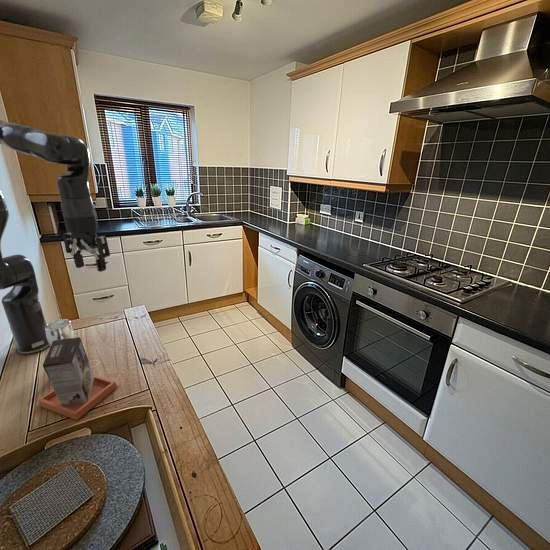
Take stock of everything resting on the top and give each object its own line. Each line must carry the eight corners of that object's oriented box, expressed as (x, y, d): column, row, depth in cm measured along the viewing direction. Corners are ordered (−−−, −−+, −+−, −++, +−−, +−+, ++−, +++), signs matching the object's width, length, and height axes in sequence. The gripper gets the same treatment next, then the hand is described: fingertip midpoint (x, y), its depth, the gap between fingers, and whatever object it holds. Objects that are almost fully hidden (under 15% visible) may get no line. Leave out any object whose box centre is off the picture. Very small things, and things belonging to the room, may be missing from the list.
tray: (39, 406, 78) (37, 400, 77) (82, 376, 89) (80, 370, 89) (77, 420, 74) (75, 414, 73) (116, 387, 85) (115, 381, 85)
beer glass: (68, 372, 91) (57, 331, 85) (50, 369, 92) (37, 328, 87) (86, 359, 97) (76, 320, 92) (68, 356, 98) (58, 317, 93)
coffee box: (70, 381, 84) (52, 339, 76) (95, 376, 86) (81, 335, 78) (61, 408, 77) (40, 365, 69) (88, 403, 79) (72, 360, 71)
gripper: (47, 214, 80) (61, 269, 85) (86, 218, 75) (98, 276, 81) (73, 210, 86) (84, 262, 92) (110, 214, 82) (120, 268, 88)
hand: (91, 268), depth 86 cm, fingers open, 8 cm apart
